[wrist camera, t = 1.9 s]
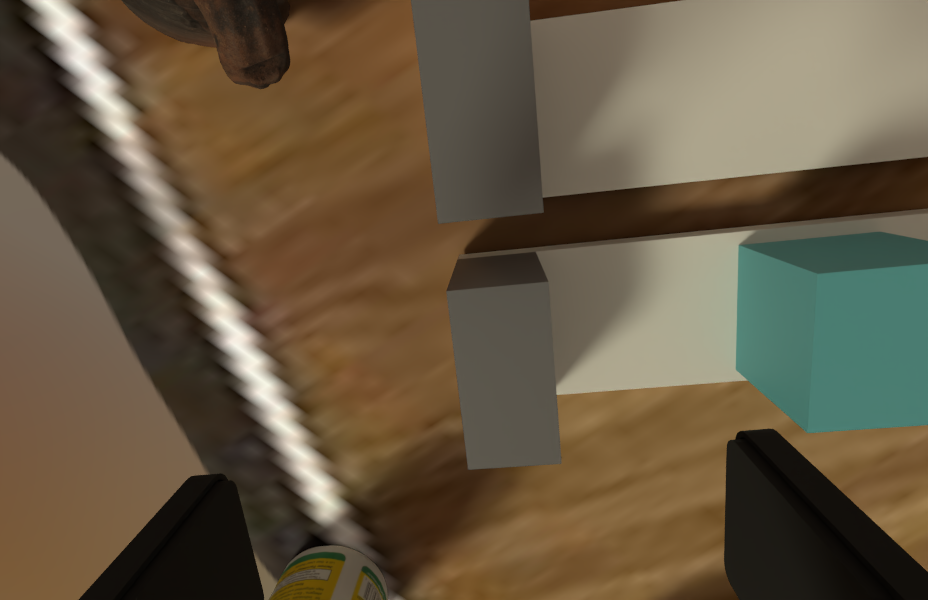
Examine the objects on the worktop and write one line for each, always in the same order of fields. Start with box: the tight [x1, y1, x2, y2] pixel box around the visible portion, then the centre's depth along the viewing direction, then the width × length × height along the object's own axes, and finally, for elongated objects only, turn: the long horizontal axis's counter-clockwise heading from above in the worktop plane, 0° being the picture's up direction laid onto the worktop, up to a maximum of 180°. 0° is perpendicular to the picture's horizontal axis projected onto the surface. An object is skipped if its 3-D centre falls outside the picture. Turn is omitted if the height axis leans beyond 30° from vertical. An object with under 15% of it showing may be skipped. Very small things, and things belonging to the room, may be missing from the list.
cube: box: [736, 232, 928, 433], centre depth 18 cm, size 5×5×5 cm
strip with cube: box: [446, 208, 928, 470], centre depth 19 cm, size 18×6×6 cm, turn 96°
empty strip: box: [411, 0, 928, 224], centre depth 17 cm, size 18×6×6 cm, turn 96°
